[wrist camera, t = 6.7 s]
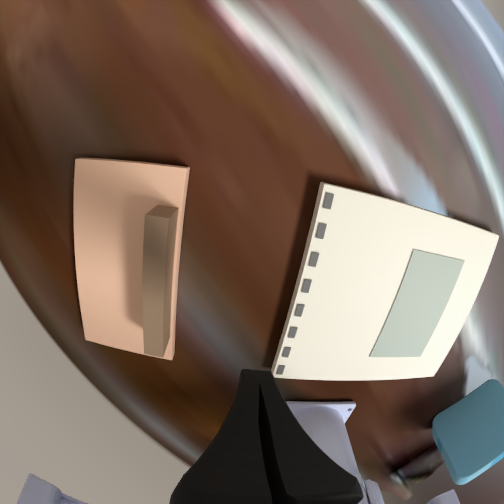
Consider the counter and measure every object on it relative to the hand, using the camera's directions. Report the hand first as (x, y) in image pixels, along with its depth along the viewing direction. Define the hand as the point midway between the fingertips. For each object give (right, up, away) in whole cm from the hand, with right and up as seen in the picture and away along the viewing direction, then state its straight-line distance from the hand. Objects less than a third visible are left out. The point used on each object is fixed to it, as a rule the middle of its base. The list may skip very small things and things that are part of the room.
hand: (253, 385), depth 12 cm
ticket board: (+12, +2, +10) cm, 15 cm away
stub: (-9, +5, +8) cm, 13 cm away
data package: (+31, -16, +17) cm, 39 cm away
